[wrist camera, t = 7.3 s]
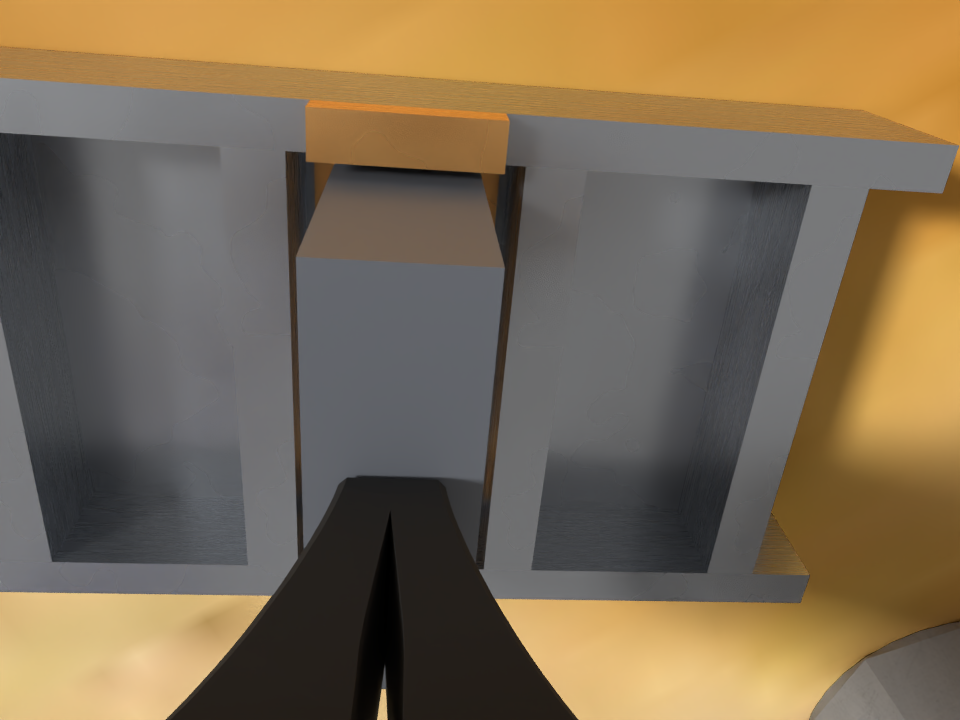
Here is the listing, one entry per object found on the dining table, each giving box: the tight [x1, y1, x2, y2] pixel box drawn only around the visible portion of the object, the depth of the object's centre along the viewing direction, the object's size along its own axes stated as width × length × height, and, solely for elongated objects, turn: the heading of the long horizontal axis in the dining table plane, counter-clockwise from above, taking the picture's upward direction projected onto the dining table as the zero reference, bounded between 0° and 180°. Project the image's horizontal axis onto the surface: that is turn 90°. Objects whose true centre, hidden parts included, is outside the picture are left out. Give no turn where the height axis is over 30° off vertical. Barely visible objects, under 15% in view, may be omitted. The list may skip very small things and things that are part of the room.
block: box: [296, 164, 505, 689], centre depth 13 cm, size 7×2×6 cm, turn 175°
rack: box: [0, 47, 959, 603], centre depth 16 cm, size 10×18×4 cm, turn 85°
